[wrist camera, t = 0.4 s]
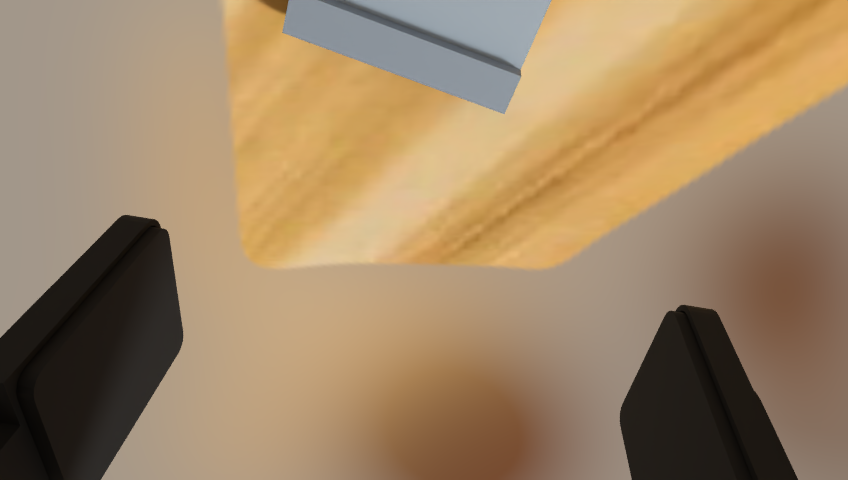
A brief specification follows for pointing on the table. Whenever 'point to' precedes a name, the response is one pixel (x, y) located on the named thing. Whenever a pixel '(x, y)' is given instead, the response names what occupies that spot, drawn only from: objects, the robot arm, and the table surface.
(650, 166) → the table surface
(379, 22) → the notched board
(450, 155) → the table surface
